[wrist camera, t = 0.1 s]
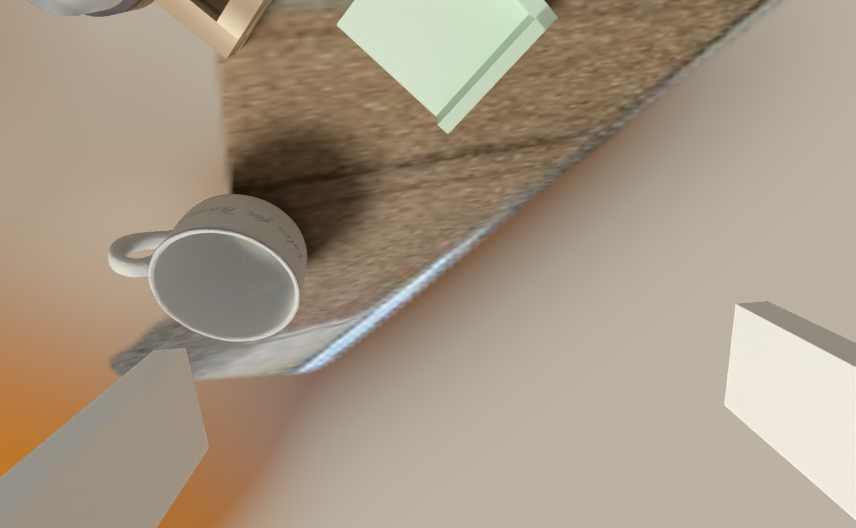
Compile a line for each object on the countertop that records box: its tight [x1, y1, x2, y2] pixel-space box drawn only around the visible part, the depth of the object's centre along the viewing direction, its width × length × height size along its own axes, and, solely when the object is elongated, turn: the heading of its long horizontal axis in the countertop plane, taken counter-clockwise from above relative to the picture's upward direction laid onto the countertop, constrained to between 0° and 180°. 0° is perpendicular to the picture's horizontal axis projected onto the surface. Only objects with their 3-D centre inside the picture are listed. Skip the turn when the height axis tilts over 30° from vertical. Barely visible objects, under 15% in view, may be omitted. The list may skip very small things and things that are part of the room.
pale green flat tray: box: [337, 0, 558, 134], centre depth 30 cm, size 10×10×3 cm
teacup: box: [108, 194, 307, 341], centre depth 37 cm, size 14×11×8 cm
